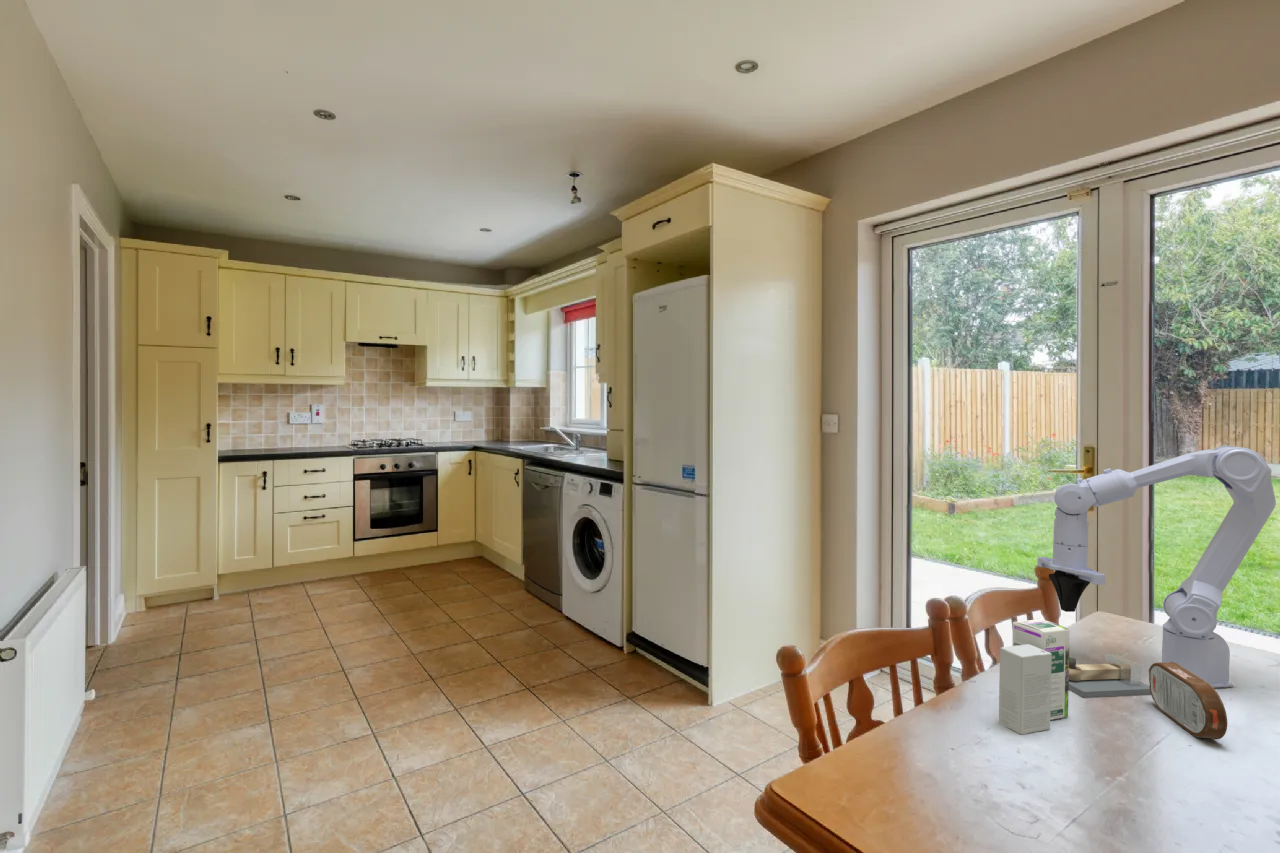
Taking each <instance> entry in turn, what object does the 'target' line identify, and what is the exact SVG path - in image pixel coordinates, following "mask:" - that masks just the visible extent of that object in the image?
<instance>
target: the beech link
mask: <svg viewBox="0 0 1280 853" xmlns="http://www.w3.org/2000/svg"><path fill="white" fill-rule="evenodd" d="M1076 664H1077V659H1076V658H1074V657H1070V656H1069V680H1072V681H1080V680H1101V679H1120V675H1121V666H1119V665H1117V664H1115V663H1083V664H1082V663H1080V664H1081V665H1076Z"/></svg>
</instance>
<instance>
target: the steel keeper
mask: <svg viewBox="0 0 1280 853" xmlns="http://www.w3.org/2000/svg"><path fill="white" fill-rule="evenodd" d="M1104 656H1105V659H1104V660H1106V661H1108V662H1110V663H1111V664H1114V663H1115V664H1117V665H1119V666H1121V675H1120V681H1121V682H1123V683H1125V684H1127V685H1129V686H1140V683H1141V678H1142V677H1141V676H1142V664H1140V663H1138V662H1135V661H1133V660H1131V659H1128V658H1126V657H1124V656H1122V655H1119V654H1117V653H1105V655H1104Z"/></svg>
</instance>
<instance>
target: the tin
mask: <svg viewBox="0 0 1280 853" xmlns="http://www.w3.org/2000/svg"><path fill="white" fill-rule="evenodd" d="M1148 681H1149V686H1150V693H1151V698H1152V700H1153V702H1154V705H1156V706H1157V709H1159V710H1160V711H1161V712H1162V713H1163V714H1164V715H1166V716H1167V717H1169V718H1170V719H1171V720H1172V721H1173V722H1174V723H1176V724H1177V725H1178V726H1180V727H1181V728H1182V729H1184V730H1185V731H1186V732H1188V733H1189V734H1190V735H1192V736H1194V737H1196V738H1201V739H1213V740H1220V739H1223V738H1224V737H1225V735H1226V733H1227V730H1228V716H1227V711H1226V708H1225V706H1224V705H1225V704H1224V703H1223V700H1222V698H1221V697H1220V694H1219V693H1218V691H1217V690H1216V689H1215V688H1213V687H1212V686H1211V685H1210V684H1209V683H1207V682H1206V681H1204V680H1203V679H1201V678H1199V677H1198V676H1196V675H1195V674H1193V673H1191V672H1190V671H1188V670H1187V669H1185V668H1183V667H1182V666H1180V665H1179V664H1177V663H1175V662H1169V663H1162V661H1160V662H1154V663H1153V664H1151V665H1150V667H1149V668H1148Z"/></svg>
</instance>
